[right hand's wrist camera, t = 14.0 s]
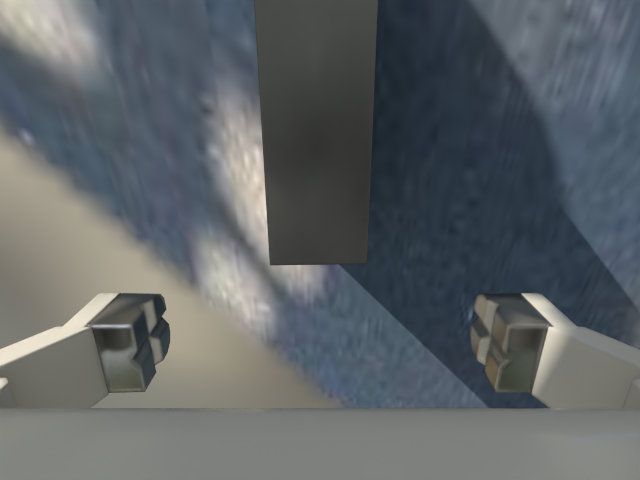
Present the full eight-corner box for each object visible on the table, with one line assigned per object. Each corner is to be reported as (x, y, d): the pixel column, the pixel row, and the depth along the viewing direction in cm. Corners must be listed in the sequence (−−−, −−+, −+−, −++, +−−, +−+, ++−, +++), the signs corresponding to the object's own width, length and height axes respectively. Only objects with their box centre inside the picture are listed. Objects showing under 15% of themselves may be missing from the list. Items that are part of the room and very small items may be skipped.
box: (350, 210, 34) (367, 264, 24) (282, 211, 34) (269, 265, 24) (356, -66, 27) (385, -164, 16) (270, -66, 27) (244, -165, 16)
